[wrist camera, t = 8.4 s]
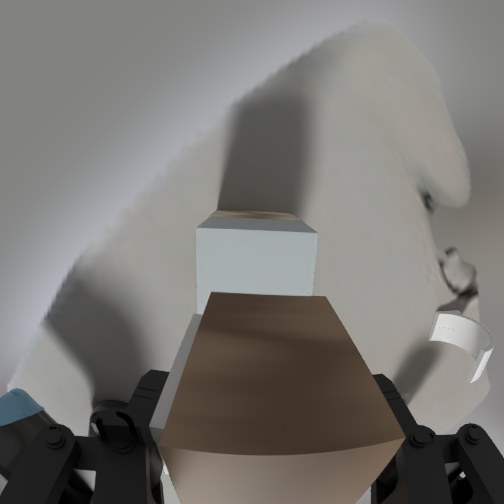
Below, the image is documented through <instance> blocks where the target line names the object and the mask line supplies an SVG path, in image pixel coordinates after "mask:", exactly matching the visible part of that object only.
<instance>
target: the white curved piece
mask: <svg viewBox="0 0 504 504" xmlns="http://www.w3.org/2000/svg"><path fill="white" fill-rule="evenodd" d="M460 313H461V312H460V311H459V310H451V311H436V315H435V318H434V321H433V324H432V327H431V330H430V333H429V336H428V339H429V340H430V341H443V342H448V343H452V344H454V345H457V346H459V347H461V348H463V349H464V350H466V351H467V352H468V353H470V354H471V355H472V356H473V358H474V359H475V361H476V362H475V364H474V366H473V369H472V371H471V373H470V375H469V377H468V379H467V380H468V381H469V382H470V383H472V382H474V381H476V380H477V379H478V378H479V377H480V375H481V373H482V371H483V369H484V367H485V365H486V363H487V361H488V359H489V356H490V354H491V352H492V350H493V347H494V345H495V339H494V336H493V335H492V333H491V332H490V331H489V330H488V329H487V328H486V327H485V326H483V325H482V324H480V323H479V322H477V321H475V320H473V319H471V318H469V317H466V316H463V315H460Z"/></svg>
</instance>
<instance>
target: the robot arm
mask: <svg viewBox="0 0 504 504" xmlns="http://www.w3.org/2000/svg"><path fill="white" fill-rule="evenodd" d="M202 316H203V314H193V317H192V319H191V321H190V324H189V326H188V329H187V331H186V333H185V336H184V338H183V341H182V343H181V346H180V348H179V351H178V353H177V356H176V358H175V360H174V363H173V365H172V368H171V371H170V372H165V371H158V370H152V369H151V370H150V371H149V372H147V373H146V374H145V375H144V376H142V377H141V379H140V381H139V383H138V385H137V389H135V391H134V393H133V396H132V397H131V399H130V401H129V403H128V404H127V403H123V402H119V401H103V402H100V403H98V404H97V405H96V407H95V408H94V410H93V412H92V413H91V416H90V422H89V431H88V437H85V436H74V434H73V433H72V431H71V430H70V429H69V428H68V427H66V426H64V425H61V424H58V423H57V422H56V421H55V420H54V419H52V418H51V417H50V416H49V415H48V414H47V413H46V412H45V411H44V408H43V407H42V406H40V405H39V404H38V403H37V402H36V401H35V400H34V399H33V398H32V397H31V396H30V395H29V394H28V393H27V392H25V391H24V390H22V389H18V388H16V389H13V390H11V391H9V392H8V393H7V394H5V395H4V396H2V397H1V398H0V504H164V496H163V485H162V482H161V479H160V477H161V473H162V469H164V471H165V474H168V475H169V473H168V470H167V467H166V465H165V462H164V459H163V456H162V453H161V450H160V447H159V443H160V440H161V437H162V434H163V431H164V427H165V424H166V421H167V418H168V415H169V412H170V409H171V406H172V403H173V400H174V397H175V394H176V391H177V388H178V385H179V382H180V379H181V376H182V373H183V370H184V367H185V364H186V361H187V358H188V355H189V353H190V350H191V347H192V344H193V341H194V338H195V335H196V332H197V330H198V327H199V324H200V321H201V318H202ZM372 376H373V377H374V379H375V381H376V383H377V384H378V386H379V388H380V390H381V392H382V393H383V395H384V397H385V399H386V401H387V403H388V404H389V406H390V408H391V410H392V412H393V414H394V415H395V417H396V419H397V421H398V423H399V425H400V427H401V429H402V431H403V433H404V434H405V436H406V438H405V440H404V441H403V443H402V444H401V446H400V447H399V449H398V450H397V452H396V453H395V455H394V456H393V457H392V459H391V460H390V462H389V463H388V464H387V466H386V467H385V468H384V470H383V471H382V472H381V473H380V475H379V476H378V477H377V479H376V480H375V481H374V482H373V483H372V485H371V504H504V458H503V456H502V455H501V453H500V452H499V450H498V449H497V447H496V446H495V444H494V443H493V441H492V440H491V439H490V437H489V436H488V434H487V433H486V431H485V430H484V429H483V428H482V427H481V426H478V425H476V424H471V423H470V424H465V425H463V426H462V427H460V429H459V430H458V432H457V433H456V434H453V435H436V434H435V432H434V431H432V430H431V429H430V428H428V427H426V426H423V425H418V424H417V423H416V421H415V419H414V418H413V416H412V414H411V413H410V411H409V409H408V407H407V406H406V404H405V402H404V401H403V399H401V396H400V394H399V393H398V392H397V389H396V388H395V386H394V384H393V383H392V381H391V380H389V379H388V378H387V377H386V376H384V375H383V374H376V375H372ZM462 472H464V474H465V475H466V476H465V477H464V478H462V477H460V474H461V473H462ZM367 490H368V489H367Z"/></svg>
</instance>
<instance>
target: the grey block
mask: <svg viewBox="0 0 504 504" xmlns="http://www.w3.org/2000/svg"><path fill="white" fill-rule="evenodd" d="M317 243H318V233H317V232H316V231H315V230H313V229H312V228H311V227H309V226H308V225H307V224H305V223H304V222H303V221H293V220H274V219H252V218H226V217H209V218H208V219H207V220H205V221H204V222H203V223H202V224H201V225H199V226H198V227H197V228H196V261H197V306H198V314H203V313H204V310H205V307H206V304H207V302H208V299H209V296H210V293H211V292H226V293H244V294H265V295H290V296H312V289H313V281H314V272H315V263H316V253H317Z"/></svg>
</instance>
